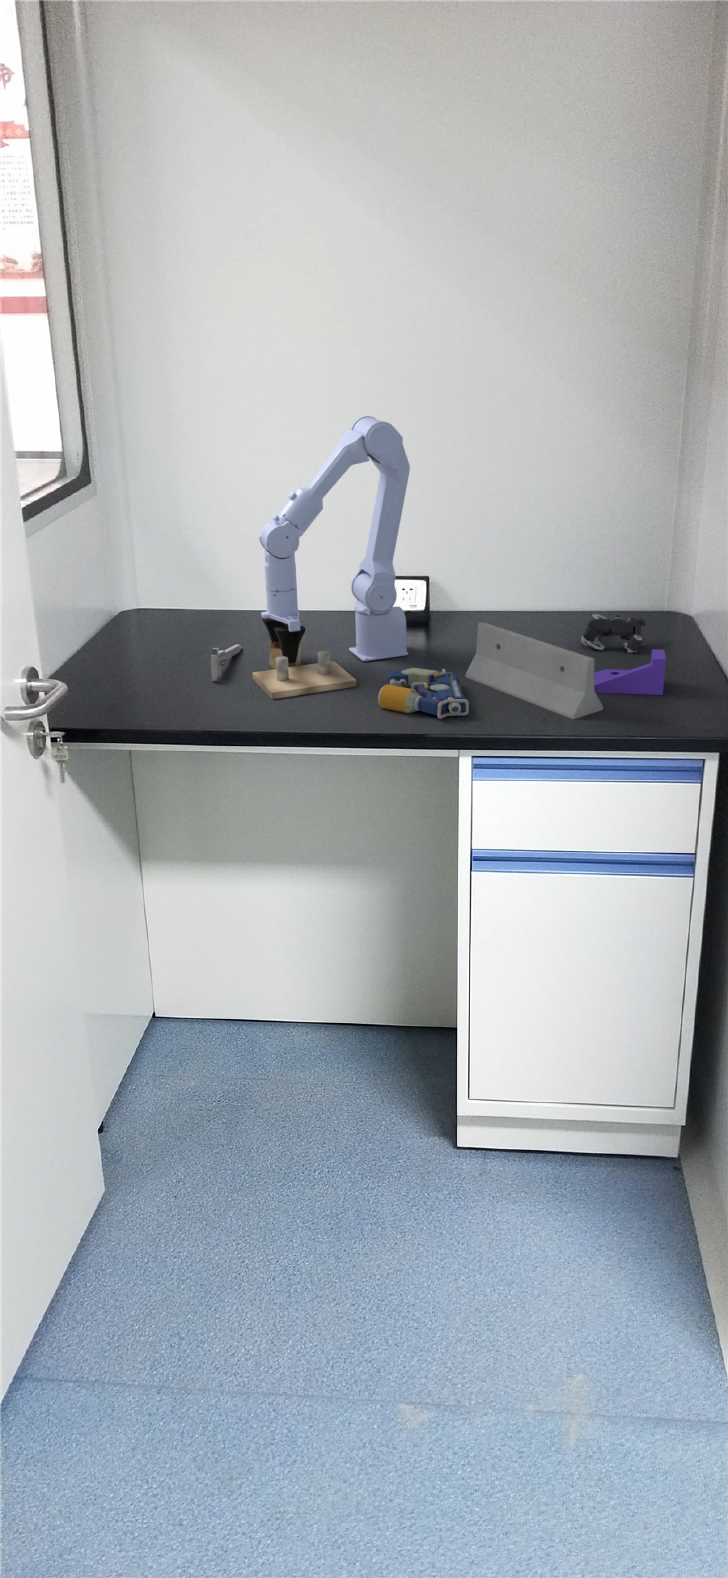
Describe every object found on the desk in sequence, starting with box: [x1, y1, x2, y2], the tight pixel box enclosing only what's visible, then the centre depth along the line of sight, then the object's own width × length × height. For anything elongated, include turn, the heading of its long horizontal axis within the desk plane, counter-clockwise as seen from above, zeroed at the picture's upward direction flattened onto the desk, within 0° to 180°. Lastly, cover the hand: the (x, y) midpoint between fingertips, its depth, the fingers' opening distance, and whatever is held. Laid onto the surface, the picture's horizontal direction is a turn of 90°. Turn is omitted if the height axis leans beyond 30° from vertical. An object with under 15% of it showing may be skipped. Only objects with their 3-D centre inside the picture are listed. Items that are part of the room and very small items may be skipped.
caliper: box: [210, 644, 243, 682], centre depth 225 cm, size 20×1×6 cm, turn 173°
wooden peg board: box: [251, 650, 357, 700], centre depth 214 cm, size 16×12×5 cm
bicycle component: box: [580, 613, 647, 654], centre depth 232 cm, size 12×7×15 cm
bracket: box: [594, 648, 667, 696], centre depth 208 cm, size 12×7×7 cm, turn 80°
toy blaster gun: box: [377, 667, 470, 720], centre depth 205 cm, size 21×4×15 cm
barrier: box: [464, 621, 604, 720], centre depth 206 cm, size 28×7×10 cm, turn 36°
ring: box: [268, 641, 302, 670], centre depth 224 cm, size 6×6×4 cm
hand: (285, 657), depth 224 cm, fingers closed on ring, 6 cm apart
